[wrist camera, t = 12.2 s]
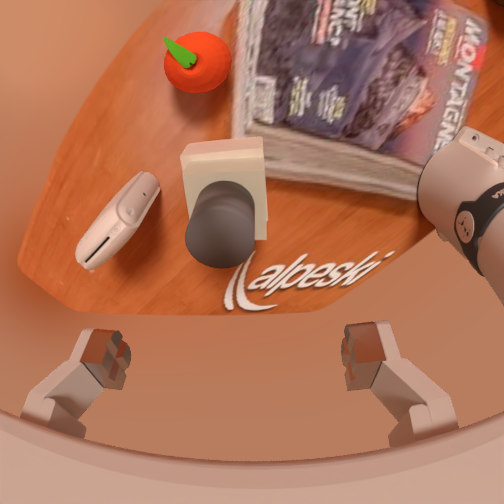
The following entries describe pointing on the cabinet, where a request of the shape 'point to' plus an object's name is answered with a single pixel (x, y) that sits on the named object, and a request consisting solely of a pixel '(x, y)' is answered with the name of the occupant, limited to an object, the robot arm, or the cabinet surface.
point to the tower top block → (229, 169)
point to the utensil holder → (500, 2)
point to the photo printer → (117, 221)
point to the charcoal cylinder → (222, 225)
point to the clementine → (197, 62)
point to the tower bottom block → (223, 151)
